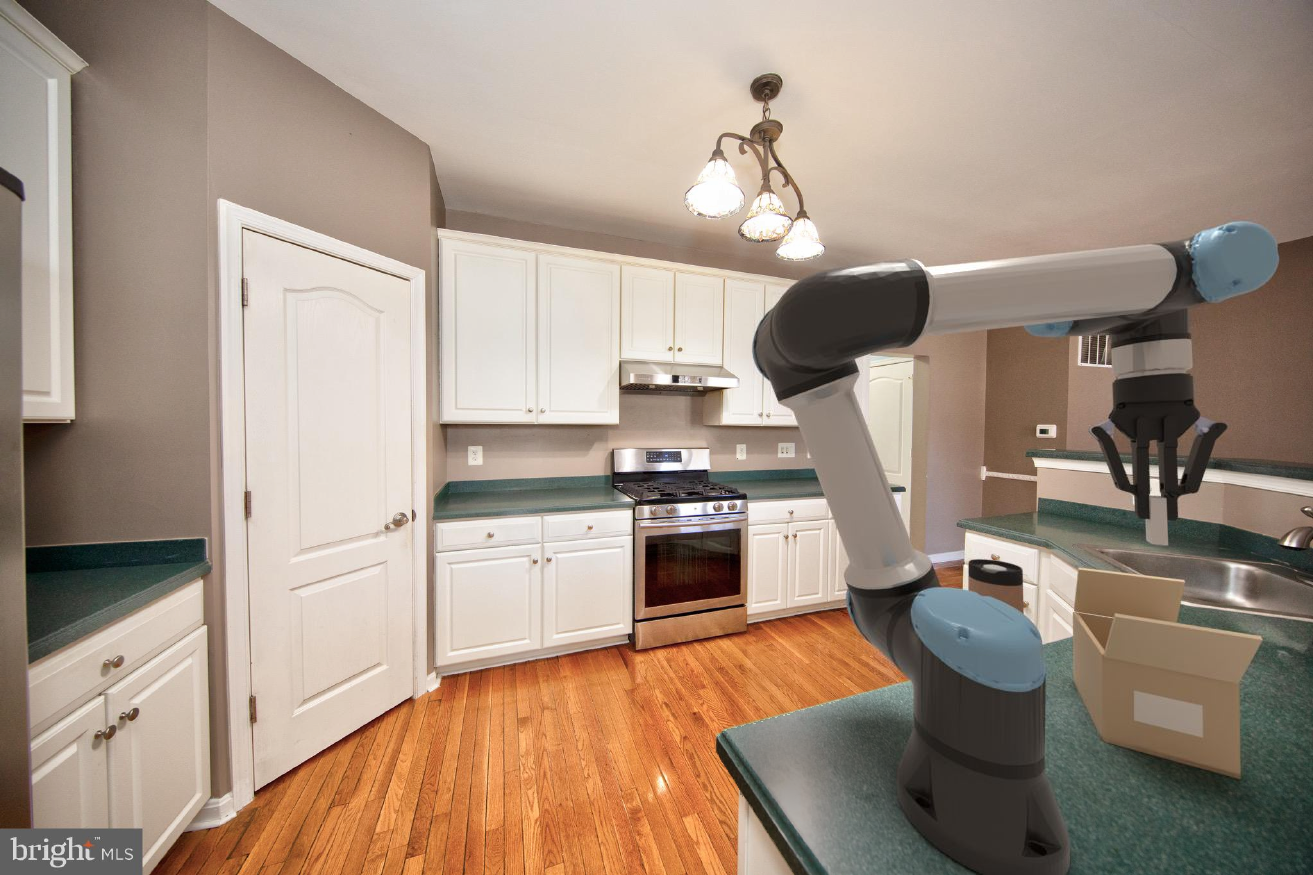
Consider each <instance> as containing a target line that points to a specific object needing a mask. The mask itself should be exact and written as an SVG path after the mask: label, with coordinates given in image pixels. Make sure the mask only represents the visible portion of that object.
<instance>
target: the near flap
mask: <svg viewBox="0 0 1313 875" xmlns="http://www.w3.org/2000/svg"><path fill="white" fill-rule="evenodd" d="M1262 642H1263V638H1262V636H1261V635H1256V634H1249V633H1244V632H1236V631H1231V630H1224V629H1219V628H1218V629H1217V628H1211V627H1204V626H1198V625H1193V624H1187V623H1179V622H1177V623H1174V622H1167V621H1161V620H1154V619H1148V618H1142V617H1135V616H1129V615H1122V614H1116V613H1115V614H1114V618H1113V622H1112V626H1111V629H1110V633H1109V637H1108V640H1107V644H1106V648H1105V652H1104V656H1105V657H1106V658H1111V659H1116V660H1121V661H1126V662H1131V663H1136V664H1142V665H1147V666H1152V667H1157V668H1162V669H1167V670H1172V671H1177V672H1182V673H1187V674H1192V675H1197V676H1202V677H1207V678H1212V679H1217V680H1222V681H1227V682H1232V683H1237V684H1239V685H1240V682H1241V679H1242V678H1243V677H1244V675H1245V673H1246V671H1247V669H1248V667H1249V666H1250V664H1251V662H1252V661H1253V658H1254V657H1255V655H1256V653H1257V651H1258V650H1259V648H1260V646H1261V644H1262Z"/></svg>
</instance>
